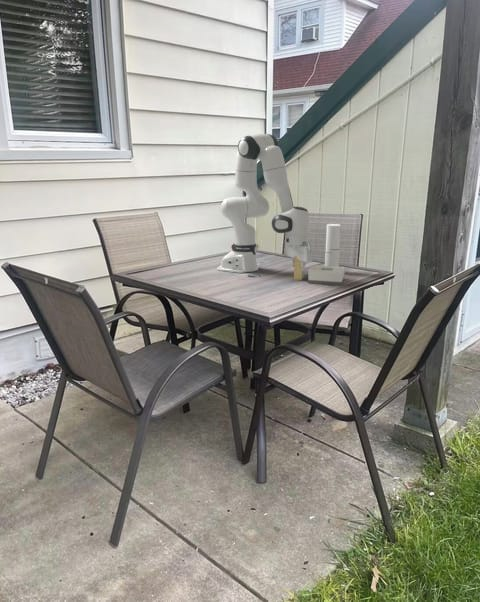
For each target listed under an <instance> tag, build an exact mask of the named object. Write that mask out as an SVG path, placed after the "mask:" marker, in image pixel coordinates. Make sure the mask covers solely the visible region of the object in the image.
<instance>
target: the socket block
mask: <svg viewBox="0 0 480 602" xmlns="http://www.w3.org/2000/svg"><path fill="white" fill-rule="evenodd" d="M345 270H346V267H344V266H339V267H333V266H325V265H314V264H313V265H312V266H311V267H310V268H309V270H308V273H307V274H308V276H307V278H308V279H307V281H308V282H307V283H308V284H318V285H319V284H320V285H321V284H322V285H335V286H342V285H343V283H344V280H345V272H346V271H345Z"/></svg>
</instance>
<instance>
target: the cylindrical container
mask: <svg viewBox="0 0 480 602" xmlns="http://www.w3.org/2000/svg"><path fill="white" fill-rule="evenodd" d="M341 229H342V225H341V224H339V223H338V224H337V223H328V224H326V234H325V235H326V237H325V256H324V257H325V258H324V266H333V267H340V247H341V246H340V245H341V243H340V242H341Z"/></svg>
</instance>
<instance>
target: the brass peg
mask: <svg viewBox="0 0 480 602" xmlns="http://www.w3.org/2000/svg"><path fill="white" fill-rule="evenodd" d="M301 265H302V263H301V261H300V260H297V256H294V267H293V280H294V281H303V279H304V270H301V269H300V266H301Z"/></svg>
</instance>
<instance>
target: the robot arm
mask: <svg viewBox="0 0 480 602" xmlns="http://www.w3.org/2000/svg"><path fill="white" fill-rule="evenodd" d="M237 149H238V150H237V152H236V153H237V154H236V159H235V167H234V169H235V171H234V177H235V179H234V183H235V186H236V187H237V188H238V189H239V190H241V191H243V192H244V193H245V194H246V195H245V196H232V197H227V198H224V199H223V201H222V202H221V203H220V211H221V214H222V216H224V217H225V218H226V219H227V220H228V221H229V222H230V223H231V224H232V227H233V230H234V243H233V244H232V245H231V246H230V248H231V250H230V252H228V253H227V254H226V255H225V256H222V259H221V264H220V265H219V266H217V271H220V272H221V271H222V272H228V273H229V272H230V273H238V274H239V273H240V274H242V273H243V274H244V273H250V272H257V271H258V270H259V266H258V261H257V250H258V249H257V243H256V241H257V239H256V229H255V227H254V226H252V225H250V224H249V223H246V222H245V219H249V218H250V219H251V218H252V219H253V218H262V217H265V216H266V215H267V214H268V212H269V211H270V204H269V203H270V202H269V201H268V199H267V198H266V197H264V195H262V193H261V192H260V190H259V187H258V181H257V180H258V178H257V175H258V173H257V172H258V171H257V170H258V161H259V160H260V162H261V167H262V171H263V178H264V182H265V184H266V186H268V188H270V189H272V190H273V191H274V192H275V193H276V195H277V197H278V200H279V204H280V205H279V206H280V209H281V213H278V214H276V215H274V216H273V218H272V220H271V227H272V230H273V231H274V232H276V233H278V234H285V233H290V236H288V237H286V238H285V255H286V257H289V258H291V263H292V267H293V268H294V256H297V260H300V261H301V263H302V265H301V266H300V269H301V270H303V271H304V270H305V269H306V265H307V263H312V262H313V260H314V253H313V248H312V245H311V244H310V243H309V239H310V238H309V237H310V233H309V227H310V215H309V210H308V209H307V208H305V207H301V206H295V205H294V203H293V198H292V197H293V196H292V194H291V188H290V184H289V180H288V174H287V167H286V166H287V165H286V162H285V157H284V154H283V151H282V149H281V148H280V146H279V141H278V139H277V137H276V136H274V135H273V134H269V133H267V134H264V133H259V134H258V133H257V134H253V135H245V136H243V137H241V138H240V139H239V141H238V143H237Z"/></svg>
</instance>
